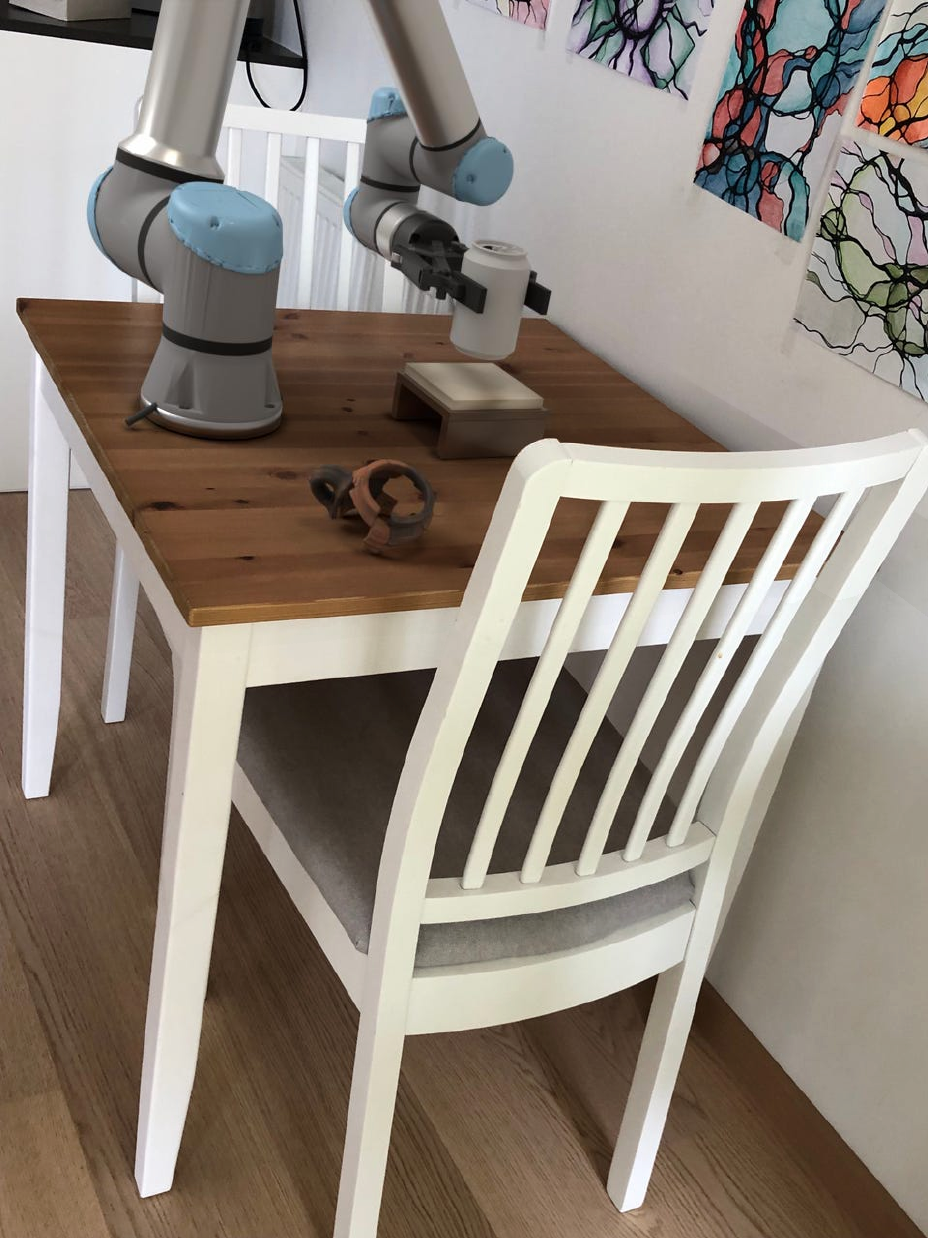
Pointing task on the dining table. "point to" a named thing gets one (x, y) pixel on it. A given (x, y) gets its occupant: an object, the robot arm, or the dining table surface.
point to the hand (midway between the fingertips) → (514, 302)
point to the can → (492, 300)
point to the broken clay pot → (374, 500)
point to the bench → (471, 408)
